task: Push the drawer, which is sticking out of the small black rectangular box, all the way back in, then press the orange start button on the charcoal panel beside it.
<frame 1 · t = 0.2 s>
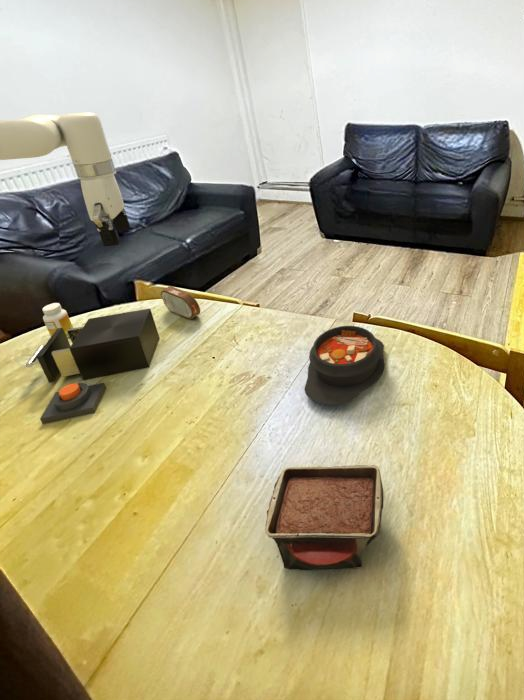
hand: (118, 237, 101), 32 cm above the table, tool pointing down, fingers open, 9 cm apart
casserole: (347, 372, 100), on the table
tin: (183, 314, 126), on the table
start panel: (76, 405, 94), on the table
black rectangular box: (124, 357, 108), on the table
start button: (70, 392, 92), point 4 cm above the table, slide at 0.1 cm
baking dish: (329, 529, 67), on the table
drawer: (74, 350, 104), point 5 cm above the table, slide at 6.0 cm
supplement bottle: (63, 335, 118), on the table
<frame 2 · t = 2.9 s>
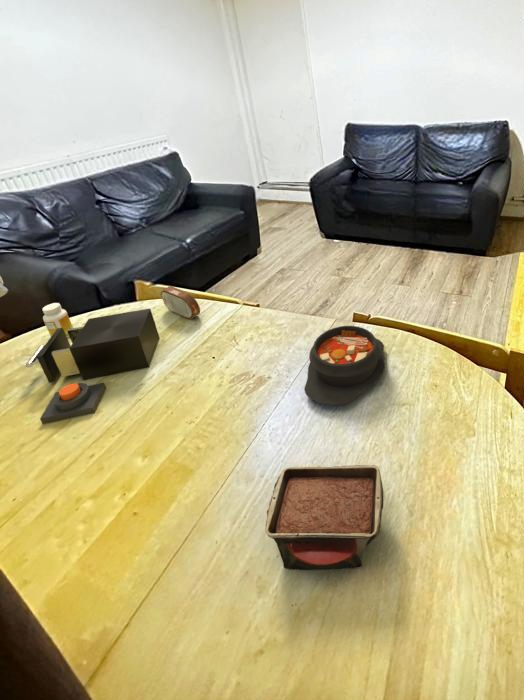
nothing on the table moved.
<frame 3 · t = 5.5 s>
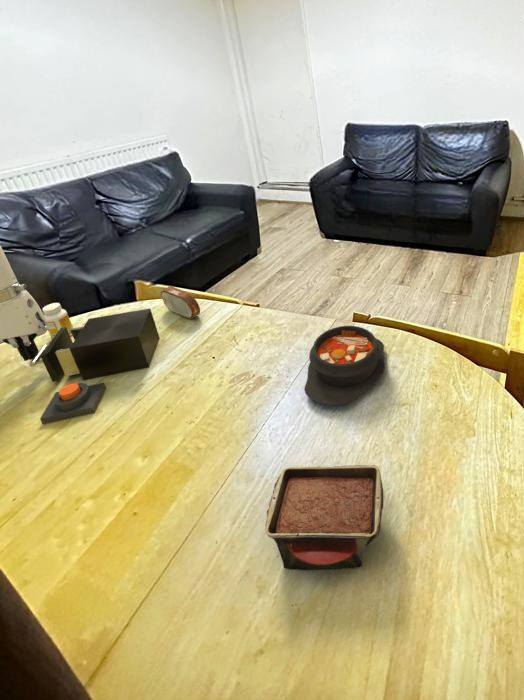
hand: (31, 356, 101), 5 cm above the table, tool pointing down, fingers closed
drawer: (77, 350, 104), point 5 cm above the table, slide at 5.2 cm, touching gripper
everything else where it was.
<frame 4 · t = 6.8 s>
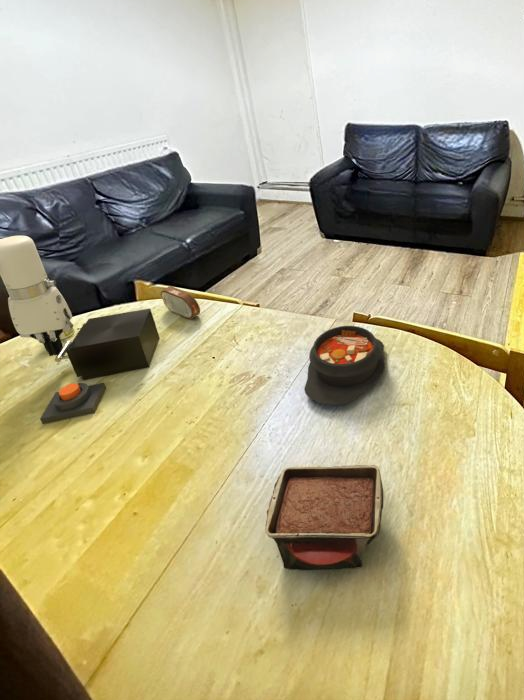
hand: (56, 352, 103), 5 cm above the table, tool pointing down, fingers closed
drawer: (101, 345, 105), point 5 cm above the table, slide at 0.0 cm, touching gripper, black rectangular box
everything else where it was.
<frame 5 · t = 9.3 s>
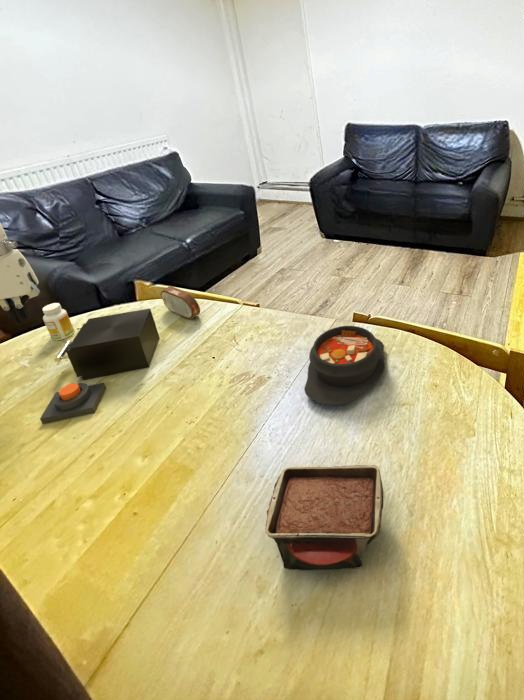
hand: (23, 320, 96), 16 cm above the table, tool pointing down, fingers closed
drawer: (101, 345, 105), point 5 cm above the table, slide at 0.0 cm
everything else where it was.
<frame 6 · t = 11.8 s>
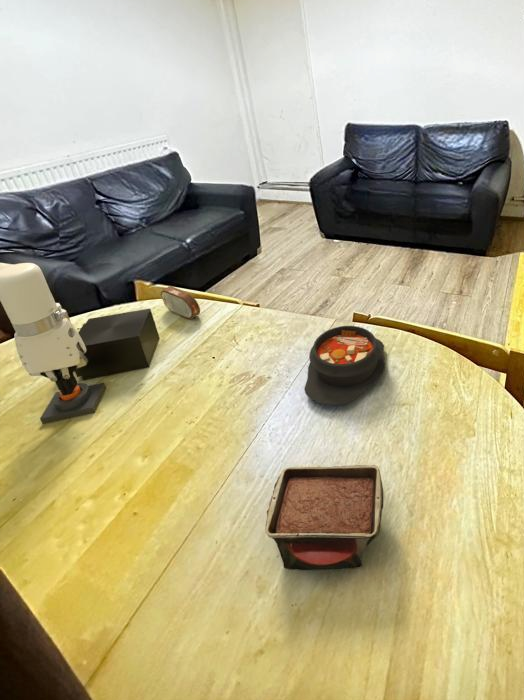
hand: (70, 390, 92), 5 cm above the table, tool pointing down, fingers closed
start button: (70, 393, 92), point 4 cm above the table, slide at -0.3 cm, touching gripper
everything else where it was.
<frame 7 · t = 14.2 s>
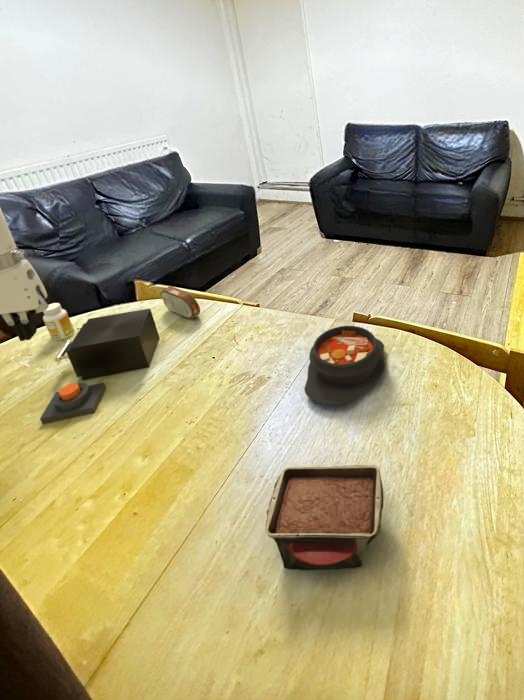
hand: (28, 336, 88), 18 cm above the table, tool pointing down, fingers closed
start button: (70, 392, 92), point 4 cm above the table, slide at 0.1 cm
everything else where it was.
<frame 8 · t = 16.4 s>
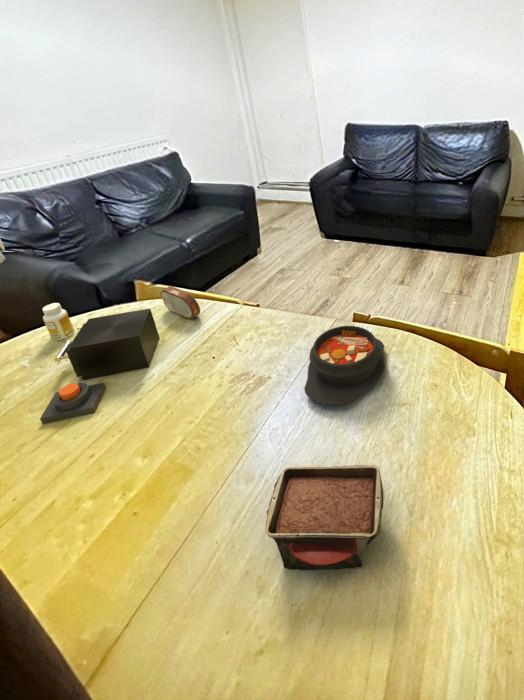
nothing on the table moved.
at the end: drawer slide at 0.0 cm; start button pushed in 1.1 cm at the most during the clip, back to where it started at the end; start button slide at 0.1 cm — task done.
